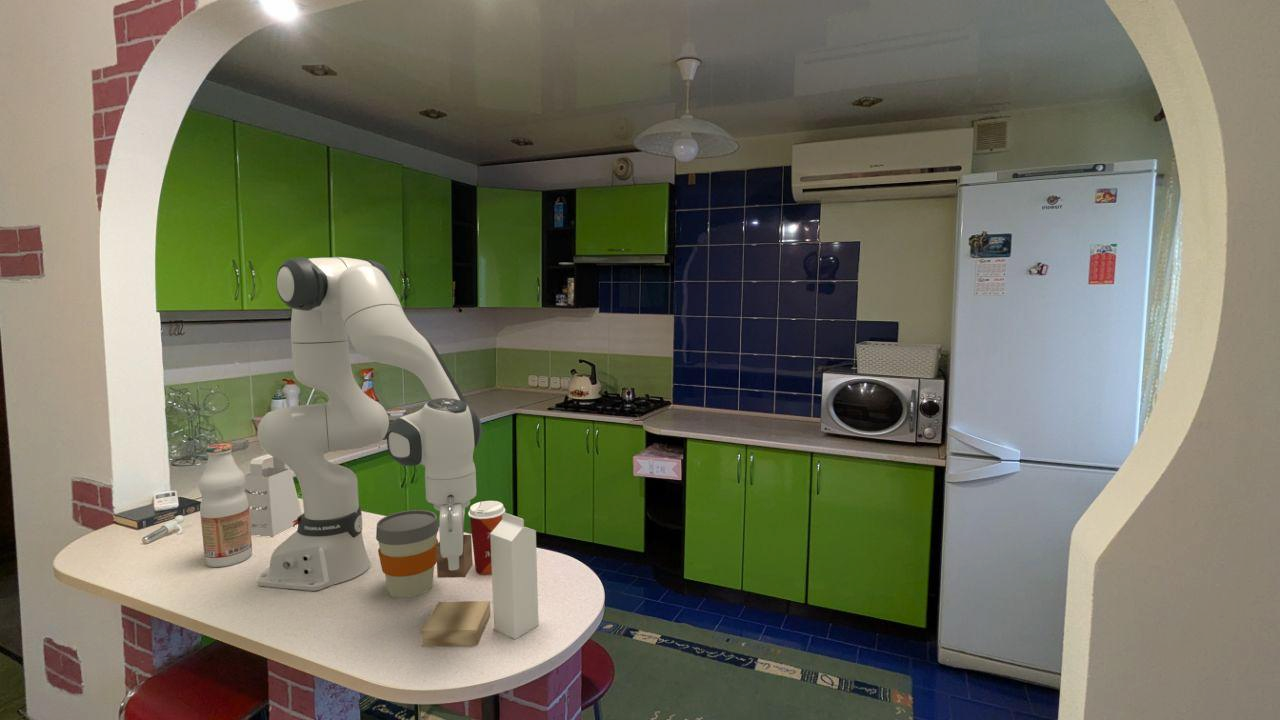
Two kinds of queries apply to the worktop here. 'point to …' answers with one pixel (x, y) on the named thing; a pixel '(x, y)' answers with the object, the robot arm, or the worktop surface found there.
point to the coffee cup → (484, 532)
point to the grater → (271, 497)
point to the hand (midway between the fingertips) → (454, 560)
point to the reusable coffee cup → (408, 551)
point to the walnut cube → (464, 561)
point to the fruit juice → (224, 509)
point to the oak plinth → (456, 624)
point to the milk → (514, 577)
